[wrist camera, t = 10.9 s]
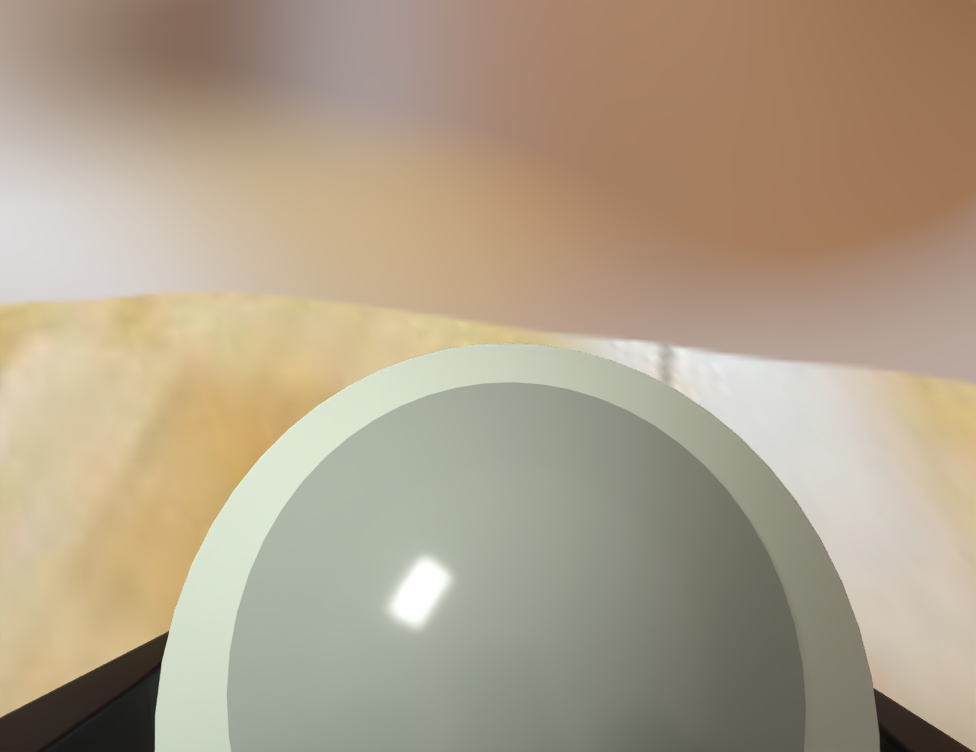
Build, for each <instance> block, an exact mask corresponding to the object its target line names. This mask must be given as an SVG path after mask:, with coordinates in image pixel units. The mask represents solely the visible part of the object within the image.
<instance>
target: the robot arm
mask: <svg viewBox="0 0 976 752" xmlns="http://www.w3.org/2000/svg"><path fill="white" fill-rule="evenodd" d="M168 635H169V631H168V632H166V633H164V634H163V635H161V636H159V637H157V638H155V639H153V640H151V641H149V642H147V643H145V644H143V645H141V646H139V647H137V648H135V649H133V650H131V651H129V652H127V653H125V654H123V655H122V656H120V657H118V658H116V659H114V660H112V661H110V662H108V663H106V664H104V665H102V666H100V667H98V668H96V669H94V670H92V671H90V672H88V673H86V674H84V675H83V676H81V677H79V678H77V679H75V680H73V681H71V682H69V683H67V684H65V685H63V686H61V687H59V688H57V689H55V690H53V691H51V692H49V693H47V694H45V695H44V696H42V697H40V698H38V699H36V700H34V701H32V702H30V703H28V704H26V705H24V706H22V707H20V708H18V709H16V710H14V711H12V712H10V713H8V714H6V715H5V716H3V717H1V718H0V752H155V713H156V705H157V697H158V689H159V681H160V674H161V666H162V660H163V656H164V651H165V647H166V643H167V639H168ZM873 689H874V688H873ZM874 697H875V705H876V712H877V720H878V727H879V736H880V752H973V751H972V750H970V749H969V748H967V747H966V746H964V745H962V744H961V743H959V742H958V741H956V740H955V739H953V738H951V737H950V736H948V735H947V734H945V733H944V732H942V731H940V730H939V729H937V728H936V727H934V726H933V725H931V724H929V723H928V722H926V721H925V720H923V719H922V718H920V717H918V716H917V715H915V714H914V713H912V712H910V711H909V710H907V709H906V708H904V707H903V706H901V705H899V704H898V703H896V702H895V701H893V700H892V699H890V698H888V697H887V696H885V695H884V694H882V693H881V692H879V691H877V690H876V689H874Z"/></svg>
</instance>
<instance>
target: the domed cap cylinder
mask: <svg viewBox="0 0 976 752" xmlns="http://www.w3.org/2000/svg"><path fill="white" fill-rule="evenodd" d="M155 752H880V736H879V727H878V720H877V712H876V705H875V697H874V689H873V682H872V677H871V673H870V669H869V665H868V661H867V657H866V653H865V649H864V645H863V641H862V637H861V633H860V629H859V626H858V623H857V621H856V618H855V615H854V613H853V610H852V607H851V605H850V602H849V599H848V597H847V594H846V591H845V589H844V586H843V583H842V581H841V579H840V577H839V575H838V573H837V571H836V569H835V567H834V565H833V563H832V561H831V559H830V557H829V555H828V553H827V551H826V549H825V547H824V545H823V543H822V541H821V539H820V537H819V536H818V534H817V532H816V531H815V529H814V528H813V526H812V525H811V523H810V522H809V520H808V518H807V517H806V515H805V514H804V512H803V511H802V509H801V507H800V506H799V504H798V503H797V501H796V500H795V499H794V497H793V496H792V495H791V494H790V492H789V491H788V490H787V489H786V487H785V486H784V485H783V484H782V482H781V481H780V480H779V478H778V477H777V476H776V475H775V473H774V472H773V471H772V470H771V468H770V467H769V466H768V465H767V464H766V463H765V462H764V461H763V460H762V459H761V458H760V457H759V456H758V455H757V454H756V453H755V452H754V451H753V450H752V449H751V448H750V447H749V446H748V445H747V444H746V443H745V442H744V441H743V440H742V439H741V438H740V437H739V436H738V435H737V434H736V433H734V432H733V431H732V430H731V429H730V428H728V427H727V426H726V425H725V424H723V423H722V422H721V421H720V420H719V419H717V418H716V417H715V416H714V415H713V414H711V413H710V412H709V411H707V410H706V409H704V408H703V407H701V406H700V405H698V404H697V403H695V402H694V401H692V400H691V399H689V398H688V397H686V396H685V395H683V394H682V393H680V392H679V391H677V390H675V389H673V388H671V387H669V386H668V385H666V384H664V383H662V382H660V381H658V380H656V379H654V378H652V377H650V376H649V375H647V374H644V373H642V372H639V371H637V370H634V369H632V368H629V367H627V366H624V365H622V364H620V363H617V362H615V361H611V360H608V359H604V358H601V357H598V356H594V355H591V354H587V353H584V352H580V351H574V350H569V349H563V348H557V347H552V346H545V345H530V344H516V343H508V344H481V345H473V346H466V347H459V348H452V349H445V350H442V351H438V352H434V353H430V354H426V355H422V356H418V357H414V358H411V359H408V360H406V361H403V362H400V363H398V364H395V365H392V366H390V367H387V368H384V369H382V370H379V371H377V372H375V373H373V374H371V375H369V376H367V377H365V378H363V379H361V380H359V381H357V382H355V383H353V384H351V385H349V386H348V387H346V388H345V389H343V390H341V391H340V392H338V393H337V394H335V395H334V396H332V397H330V398H329V399H327V400H326V401H324V402H323V403H321V404H320V405H318V406H317V407H316V408H314V409H313V410H312V411H311V412H309V413H308V414H307V415H306V416H304V417H303V418H302V419H301V420H299V421H298V422H297V423H296V424H294V425H293V426H292V427H291V428H289V429H288V430H287V431H286V432H285V433H284V434H283V435H282V436H281V437H280V438H279V439H278V440H277V441H276V442H275V443H274V444H273V445H272V446H271V447H270V448H269V449H268V450H267V451H266V452H265V453H264V454H263V455H262V456H261V457H260V459H259V460H258V461H257V462H256V464H255V465H254V466H253V467H252V468H251V470H250V471H249V472H248V473H247V475H246V476H245V477H244V478H243V480H242V481H241V482H240V483H239V485H238V486H237V487H236V488H235V490H234V491H233V493H232V494H231V496H230V497H229V499H228V501H227V502H226V504H225V505H224V507H223V508H222V510H221V511H220V513H219V515H218V516H217V518H216V519H215V521H214V522H213V524H212V525H211V527H210V529H209V531H208V533H207V535H206V537H205V539H204V541H203V543H202V545H201V547H200V549H199V551H198V553H197V555H196V557H195V559H194V561H193V563H192V565H191V568H190V570H189V573H188V576H187V579H186V581H185V584H184V587H183V589H182V592H181V595H180V598H179V600H178V603H177V606H176V608H175V611H174V615H173V619H172V623H171V627H170V631H169V635H168V639H167V643H166V647H165V651H164V656H163V660H162V666H161V674H160V681H159V689H158V697H157V705H156V713H155Z"/></svg>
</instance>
